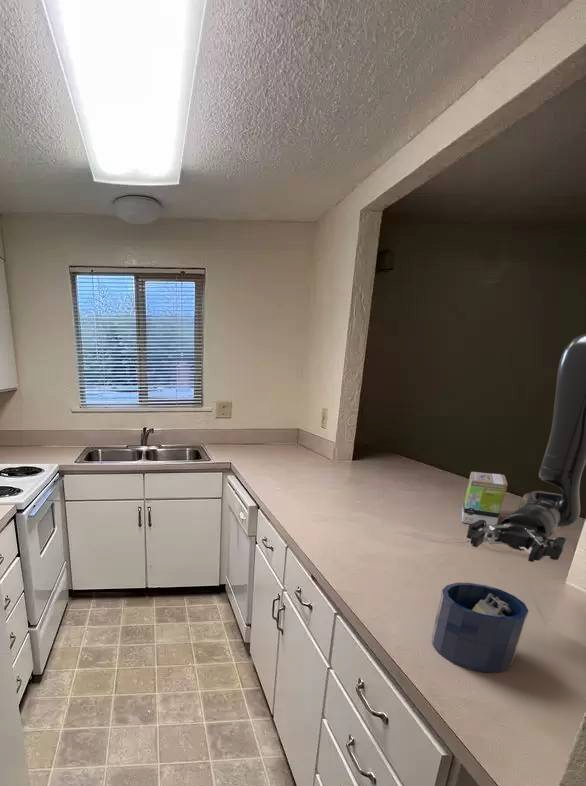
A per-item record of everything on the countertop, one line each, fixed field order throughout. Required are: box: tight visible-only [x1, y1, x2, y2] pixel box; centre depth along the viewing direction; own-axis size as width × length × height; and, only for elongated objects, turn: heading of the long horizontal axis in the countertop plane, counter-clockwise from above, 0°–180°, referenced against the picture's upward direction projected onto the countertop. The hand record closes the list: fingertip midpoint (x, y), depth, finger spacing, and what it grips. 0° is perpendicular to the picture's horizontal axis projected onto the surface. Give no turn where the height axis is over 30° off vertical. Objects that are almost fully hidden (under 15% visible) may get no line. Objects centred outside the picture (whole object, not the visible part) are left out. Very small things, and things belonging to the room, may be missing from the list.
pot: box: [431, 582, 530, 674], centre depth 80 cm, size 13×13×11 cm
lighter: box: [472, 593, 511, 617], centre depth 80 cm, size 7×4×10 cm, turn 174°
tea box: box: [461, 471, 509, 526], centre depth 145 cm, size 15×10×15 cm
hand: (502, 549), depth 77 cm, fingers open, 8 cm apart
